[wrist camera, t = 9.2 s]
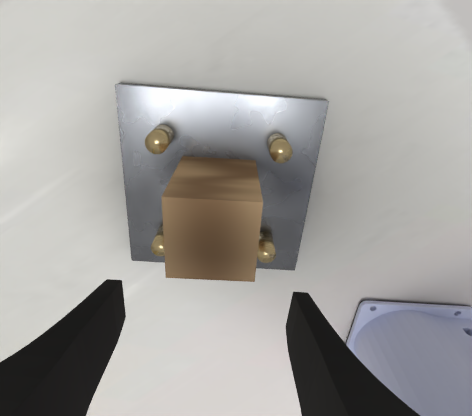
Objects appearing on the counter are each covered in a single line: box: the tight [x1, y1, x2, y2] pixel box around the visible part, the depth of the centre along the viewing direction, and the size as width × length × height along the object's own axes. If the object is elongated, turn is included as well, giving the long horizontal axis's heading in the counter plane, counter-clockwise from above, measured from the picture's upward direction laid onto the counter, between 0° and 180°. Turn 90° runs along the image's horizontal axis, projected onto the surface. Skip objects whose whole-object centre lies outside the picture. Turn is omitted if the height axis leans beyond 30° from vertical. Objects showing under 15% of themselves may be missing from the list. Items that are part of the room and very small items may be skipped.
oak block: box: [161, 156, 263, 282], centre depth 17 cm, size 4×4×6 cm
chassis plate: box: [115, 83, 329, 270], centre depth 19 cm, size 12×12×3 cm
